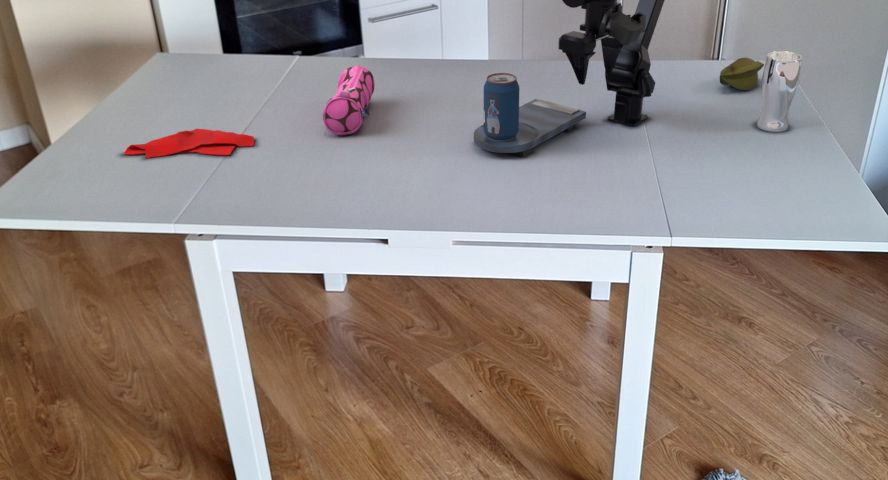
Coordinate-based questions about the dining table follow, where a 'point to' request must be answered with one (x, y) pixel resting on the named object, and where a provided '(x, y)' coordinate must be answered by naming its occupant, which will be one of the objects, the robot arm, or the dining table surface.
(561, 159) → the dining table surface
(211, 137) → the cloth
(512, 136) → the soda can
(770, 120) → the beer glass
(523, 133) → the grey kitchen scale
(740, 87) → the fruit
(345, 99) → the pencil case
